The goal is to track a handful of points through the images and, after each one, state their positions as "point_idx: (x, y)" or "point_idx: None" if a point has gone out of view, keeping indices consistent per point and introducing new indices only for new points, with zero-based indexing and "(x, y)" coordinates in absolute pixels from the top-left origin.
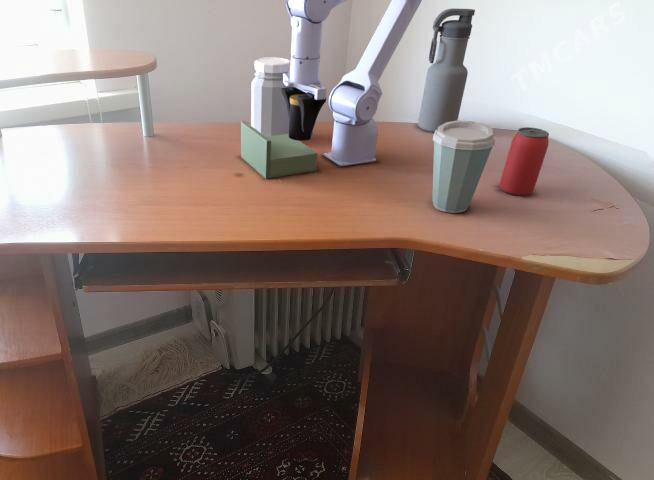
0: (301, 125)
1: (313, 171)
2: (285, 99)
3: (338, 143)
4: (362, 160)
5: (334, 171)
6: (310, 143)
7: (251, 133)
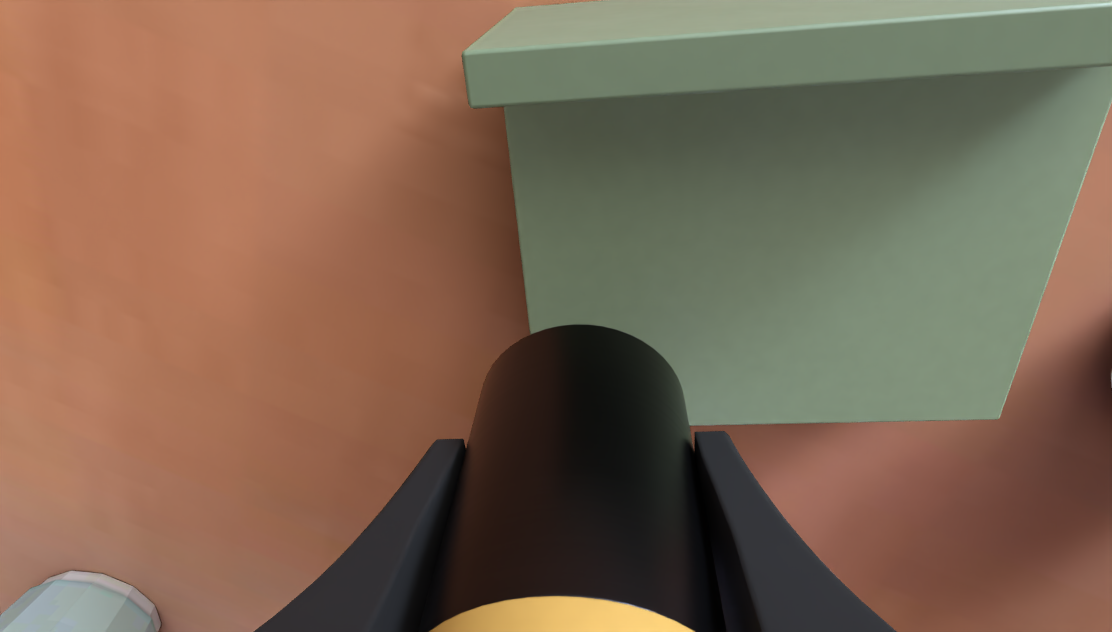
0: (461, 468)
1: None
2: (848, 615)
3: None
4: None
5: None
6: (967, 495)
7: (918, 9)
